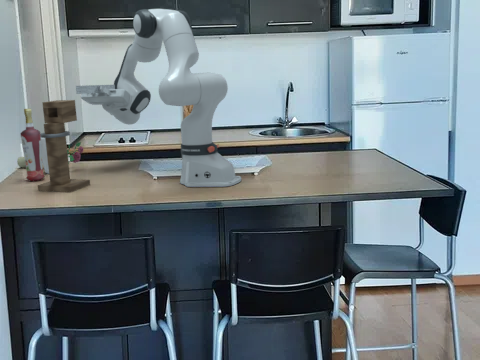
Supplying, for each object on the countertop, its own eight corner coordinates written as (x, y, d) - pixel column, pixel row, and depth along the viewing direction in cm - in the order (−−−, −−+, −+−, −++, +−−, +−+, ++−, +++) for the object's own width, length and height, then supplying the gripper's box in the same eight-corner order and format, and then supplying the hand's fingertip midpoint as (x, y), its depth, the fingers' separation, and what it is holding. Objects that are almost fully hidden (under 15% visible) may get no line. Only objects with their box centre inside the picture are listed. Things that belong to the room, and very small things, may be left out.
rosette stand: (90, 184, 225) (81, 99, 218) (68, 193, 213) (59, 103, 206) (59, 183, 230) (49, 100, 223) (36, 191, 218) (25, 103, 211)
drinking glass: (55, 173, 248) (47, 138, 244) (40, 175, 249) (32, 139, 245) (63, 169, 254) (55, 134, 250) (48, 170, 256) (40, 136, 252)
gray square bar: (115, 92, 248) (114, 84, 247) (83, 93, 228) (82, 85, 227) (108, 92, 249) (108, 84, 249) (76, 93, 229) (75, 85, 228)
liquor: (49, 179, 238) (41, 108, 232) (32, 183, 233) (23, 110, 227) (39, 177, 243) (31, 107, 237) (22, 180, 238) (13, 109, 232)
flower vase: (31, 183, 270) (96, 168, 257) (11, 178, 259) (77, 162, 246) (31, 158, 273) (94, 142, 259) (10, 152, 262) (76, 135, 248)
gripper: (93, 96, 254) (74, 81, 242) (136, 95, 247) (118, 80, 235) (90, 110, 253) (71, 95, 240) (133, 109, 245) (115, 94, 233)
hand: (95, 88), depth 237 cm, fingers closed on gray square bar, 3 cm apart
